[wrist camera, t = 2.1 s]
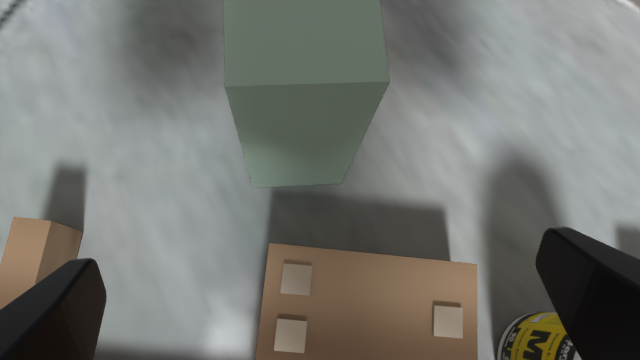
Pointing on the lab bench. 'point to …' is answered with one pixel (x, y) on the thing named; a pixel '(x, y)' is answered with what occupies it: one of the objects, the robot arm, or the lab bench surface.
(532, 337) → the supplement bottle
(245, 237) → the lab bench surface
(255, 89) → the sage block
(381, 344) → the slot rack
